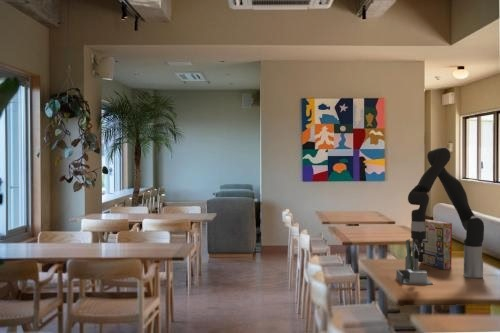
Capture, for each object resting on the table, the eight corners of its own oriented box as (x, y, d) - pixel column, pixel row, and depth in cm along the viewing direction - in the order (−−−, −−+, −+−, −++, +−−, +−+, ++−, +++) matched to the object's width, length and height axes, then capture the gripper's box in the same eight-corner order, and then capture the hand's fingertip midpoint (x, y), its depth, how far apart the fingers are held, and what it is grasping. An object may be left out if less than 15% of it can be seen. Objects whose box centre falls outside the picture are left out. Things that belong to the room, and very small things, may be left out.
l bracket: (409, 281, 284) (409, 272, 284) (406, 278, 291) (406, 269, 291) (427, 282, 284) (427, 272, 284) (423, 278, 291) (423, 269, 291)
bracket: (413, 276, 299) (414, 240, 299) (400, 274, 303) (401, 239, 302) (423, 266, 324) (423, 233, 323) (410, 265, 327) (411, 232, 326)
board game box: (451, 269, 318) (452, 223, 317) (443, 269, 315) (444, 223, 314) (427, 262, 337) (428, 219, 336) (419, 263, 334) (420, 219, 333)
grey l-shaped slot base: (426, 278, 294) (426, 270, 294) (432, 284, 281) (432, 275, 281) (396, 278, 295) (396, 269, 295) (401, 284, 282) (401, 275, 282)
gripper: (407, 227, 291) (408, 257, 291) (414, 231, 277) (414, 263, 277) (422, 227, 290) (422, 257, 291) (429, 231, 276) (429, 263, 277)
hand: (418, 260), depth 284 cm, fingers open, 8 cm apart
